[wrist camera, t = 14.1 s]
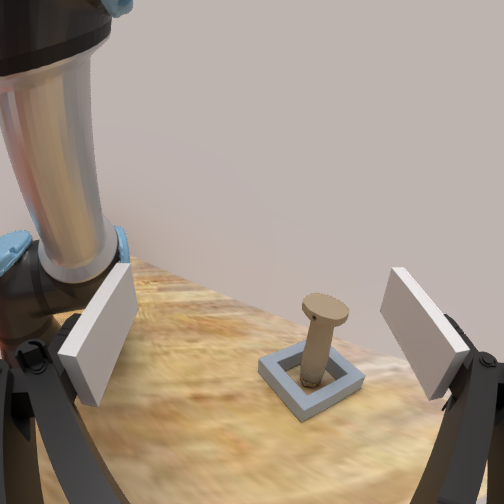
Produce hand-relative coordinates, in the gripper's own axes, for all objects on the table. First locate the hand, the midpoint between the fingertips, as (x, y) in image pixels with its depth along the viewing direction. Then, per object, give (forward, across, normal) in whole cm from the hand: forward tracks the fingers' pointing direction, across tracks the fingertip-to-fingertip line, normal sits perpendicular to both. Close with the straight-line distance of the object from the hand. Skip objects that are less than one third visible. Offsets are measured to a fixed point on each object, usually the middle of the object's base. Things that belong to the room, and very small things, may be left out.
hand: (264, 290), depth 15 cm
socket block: (+20, +10, -30) cm, 37 cm away
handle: (+20, +10, -30) cm, 38 cm away
